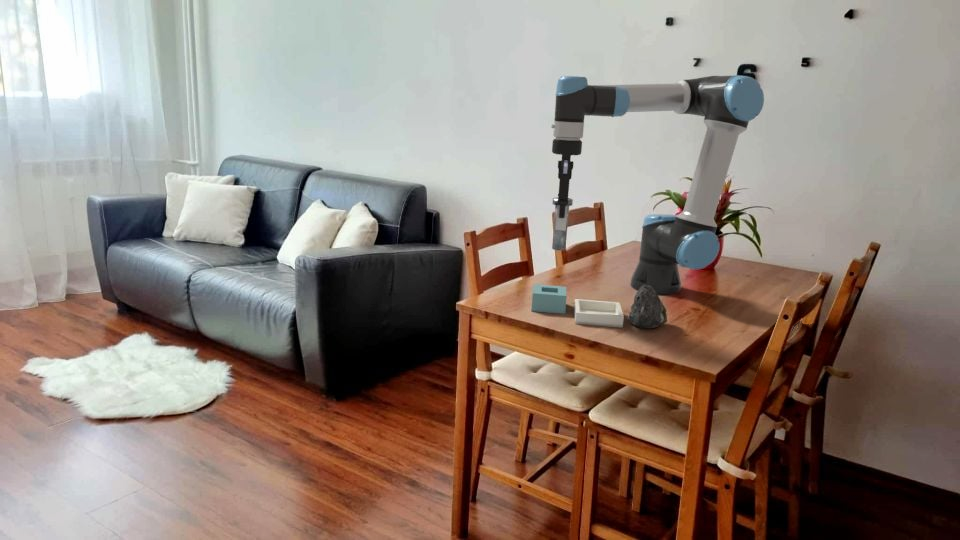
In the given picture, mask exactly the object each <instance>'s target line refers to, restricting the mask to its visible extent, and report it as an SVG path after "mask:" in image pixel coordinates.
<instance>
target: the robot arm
mask: <svg viewBox="0 0 960 540" xmlns="http://www.w3.org/2000/svg"><path fill="white" fill-rule="evenodd" d="M556 84H557V85H556V91H555V105H554V106H555V107H554V108H555V109H554V120H553V121H554V124H552V125H551V128H552V129H553V133H552V134H553V139H552V145H551V146H552V147H551V152H552V153H553V154H555V155H560V156H561V160H558V161H557V168H558V170H557V171H558V173H557V178H558V179H559V183H558V184H559V185H558V186H559V187H558V194H557V198H558V202H557V203H555V205H557V215H556V228H555V230H565V231H566V221H567V209H568V198H569V191H570V181H571V179H572V176H573V175H572V172H573V169H574V161H571V157H572V156H581V154H582V151H583V150H582V148H583V141H582V140H581V139H582V138H584V126H585V116H586V117H587V116H588V117H589V116H593V117H594V116H595V117H611V118H614V117H616V118H617V117H623V116H625V114H627V113H640V112H641V113H644V112H645V113H646V112H672V111H673V112H674V113H675V114H677V115H691V116H692V115H694V116H700V117H704V118H703V123H704V124H705V126H706V132H705V135H704V139H703V143H702V146H701V149H700V151H699V152H700V153H699V155H698V159H697V162H696V166H695V169H694V173H693V177H692V180H691V183H690V186H689V191H688V194H687V198H686V200H685V204H684V208H683V210H682V212H680V213H678V214H648V215H646V216H645V217H644V219H643V223H642V227H641V228H642V231H641V232H642V233H641V239H640V240H641V241H640V247H639V249H640V251H639V258H638V263H637V265H636V267H635V269H634V272H633V274H632V276H631V278H630V286H631V287H632V288H633V289H635V290H637V291H638V290H639V289H640V287H641V286H643V285H647V286H652V287H653V289H654V290H655V291H656V293H657V295H673V294H679V293H680V292H681V288H682V287H681V286H682V281H681V276H680V270H679V266H681V267H683V268H686V269H691V270H701V269H704V268H706V267H707V266H709V265H711V264H712V263H713V262H714V261H715V259H716V258H717V256H718V255H719V251H720V247H721V246H720V241H719V238H718V236H717V234H716V232H717V227H718V224H717V223H716V221H715V219H714V218H715V216H716V212H717V209H718V206H719V202H720V199H721V195H722V193H723V188H724V185H725V182H726V179H727V175H728V172H729V169H730V166H731V162H732V158H733V155H734V152H735V149H736V145H737V142H738V138H739V137H740V136H739V135H741V134H743V133H744V132H745V131H747V128H748V125H749V122H750V121H752V120H754V119H755V118H756V117H757V116H759V115H760V113H761V111H762V110H763V107H764V103H765V95H764V91H763V88H762V87H761V84H760V83H759V82H758V80H757V79H755V78H753V77H751V76H747V75H738V74H737V75H736V74H735V75H711V76H710V75H709V76H702V77H697V78H692V79H679V80H677V81H675V82H674V83H649V84H648V83H647V84H645V83H643V84H601V85H600V84H599V85H594V84H593V85H590V84H589V82H588V78H587V77H586V76H578V75H577V76H575V75H574V76H573V75H562V76H559V78H558V79H557V83H556ZM564 199H565V200H564ZM555 205H554V206H555Z"/></svg>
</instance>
